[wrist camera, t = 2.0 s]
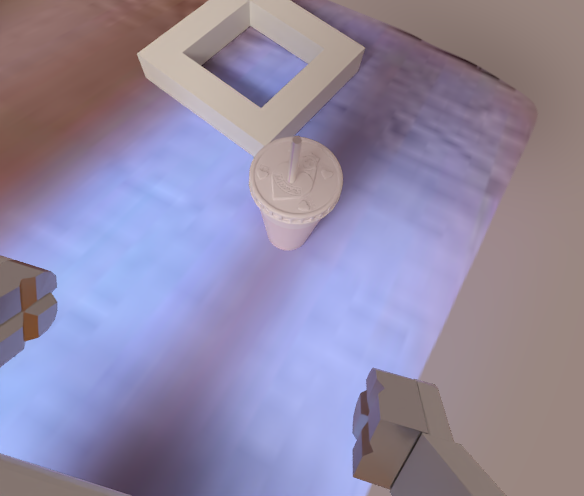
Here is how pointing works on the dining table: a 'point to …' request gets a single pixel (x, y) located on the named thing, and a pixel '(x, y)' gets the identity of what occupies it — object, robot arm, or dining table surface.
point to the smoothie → (294, 188)
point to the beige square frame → (227, 101)
